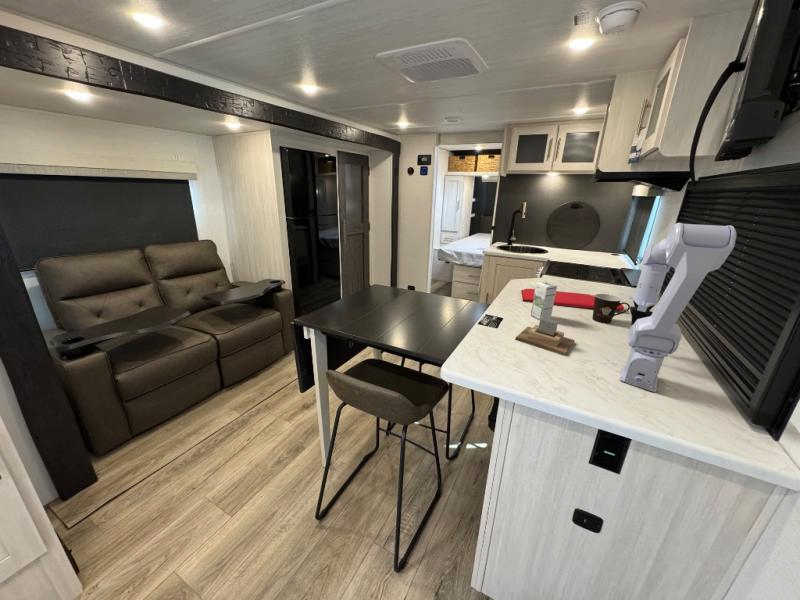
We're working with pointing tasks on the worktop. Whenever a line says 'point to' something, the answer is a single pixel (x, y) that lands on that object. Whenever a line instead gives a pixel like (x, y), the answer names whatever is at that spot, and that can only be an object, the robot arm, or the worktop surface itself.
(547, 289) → the syrup box
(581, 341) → the worktop surface
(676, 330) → the robot arm
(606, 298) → the coffee mug
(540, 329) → the brushed grey block
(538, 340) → the slot block
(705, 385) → the worktop surface
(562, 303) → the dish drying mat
